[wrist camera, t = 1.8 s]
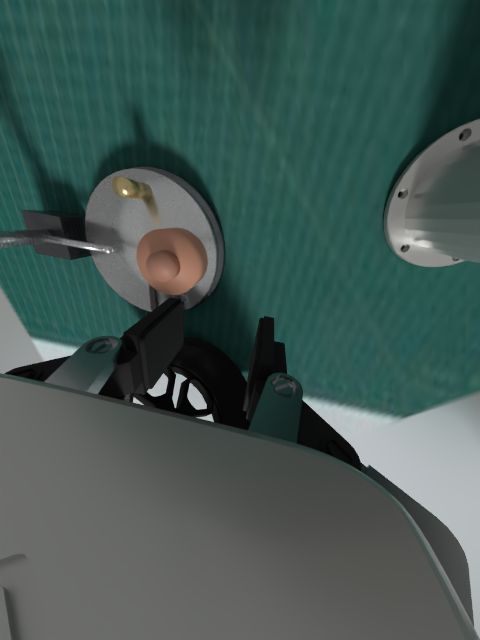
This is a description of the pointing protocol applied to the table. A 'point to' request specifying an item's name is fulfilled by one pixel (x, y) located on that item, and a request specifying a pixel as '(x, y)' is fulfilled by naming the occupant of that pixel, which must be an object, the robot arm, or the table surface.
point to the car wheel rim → (204, 385)
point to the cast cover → (171, 260)
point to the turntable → (144, 231)
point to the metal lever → (53, 235)
